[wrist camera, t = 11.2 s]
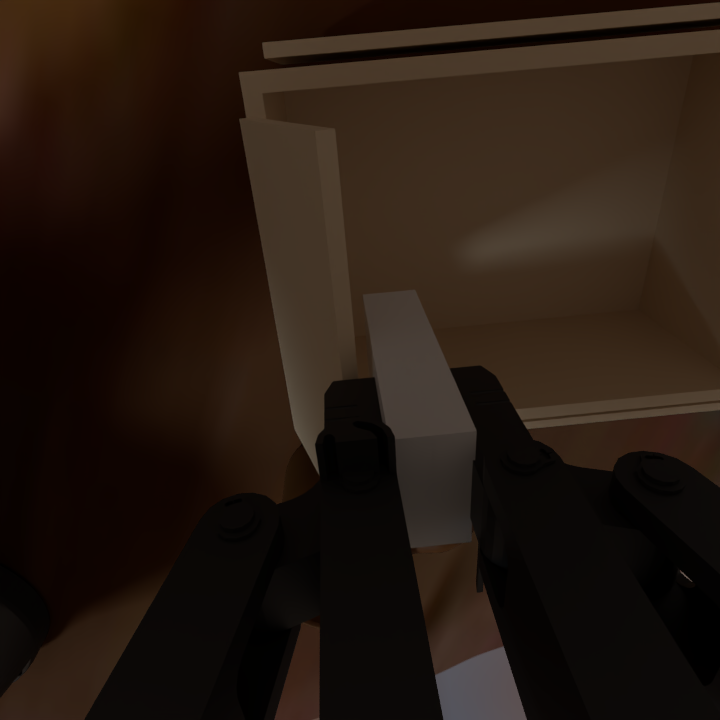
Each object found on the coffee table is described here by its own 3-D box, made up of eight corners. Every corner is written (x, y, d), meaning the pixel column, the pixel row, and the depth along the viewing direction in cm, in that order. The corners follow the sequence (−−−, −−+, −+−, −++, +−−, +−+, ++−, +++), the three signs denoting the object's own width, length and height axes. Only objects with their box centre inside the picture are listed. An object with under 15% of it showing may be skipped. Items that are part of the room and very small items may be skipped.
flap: (335, 128, 9) (314, 131, 9) (374, 550, 15) (362, 555, 15) (252, 117, 15) (238, 118, 15) (303, 426, 21) (294, 428, 21)
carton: (309, 356, 30) (304, 454, 22) (266, 57, 22) (233, 44, 14) (638, 324, 30) (747, 409, 22) (705, 18, 23) (908, -15, 15)
